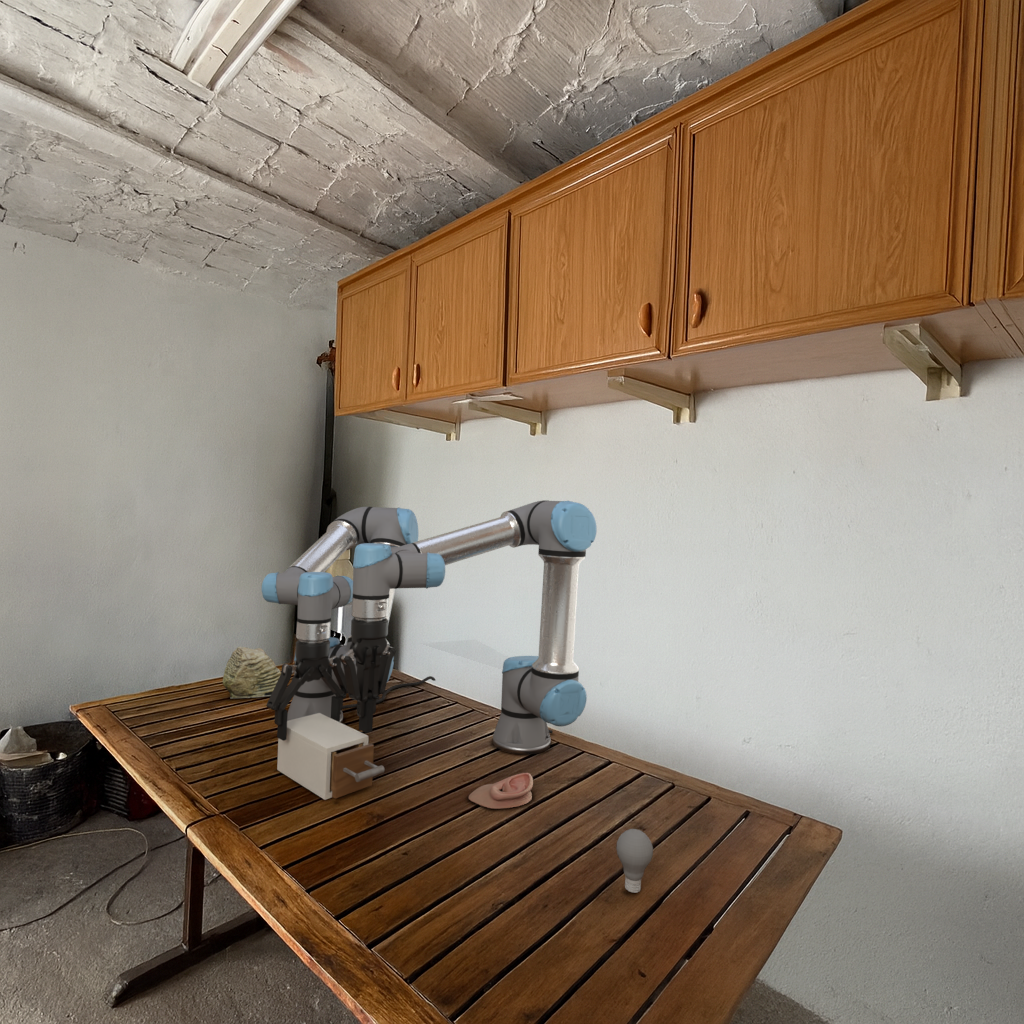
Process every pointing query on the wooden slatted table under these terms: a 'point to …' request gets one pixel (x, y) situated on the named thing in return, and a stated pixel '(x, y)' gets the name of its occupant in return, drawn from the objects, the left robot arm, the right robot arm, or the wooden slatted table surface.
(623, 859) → the light bulb
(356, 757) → the drawer
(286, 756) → the cabinet
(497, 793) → the anatomical model
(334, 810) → the wooden slatted table surface
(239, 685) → the fossil
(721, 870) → the wooden slatted table surface
